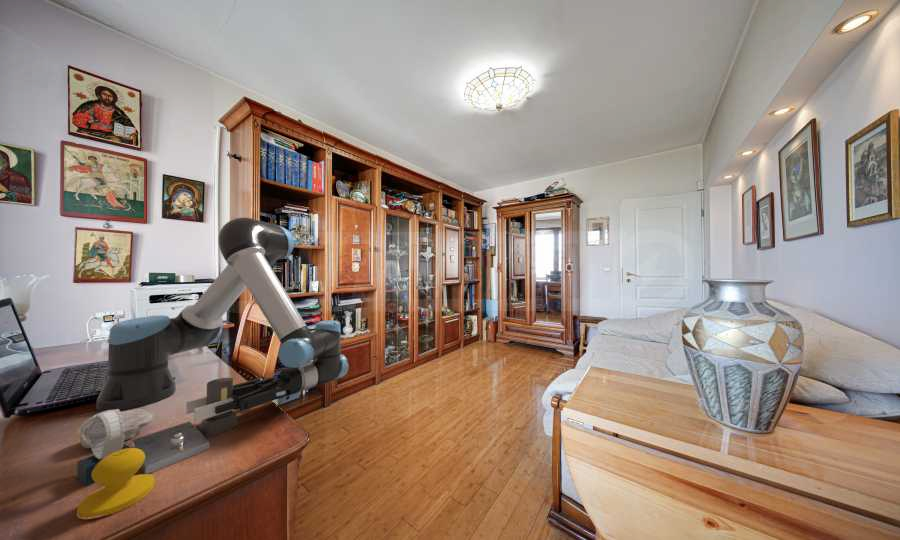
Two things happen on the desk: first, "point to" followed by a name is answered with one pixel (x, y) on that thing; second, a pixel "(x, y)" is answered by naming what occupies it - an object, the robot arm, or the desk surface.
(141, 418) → the fossil
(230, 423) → the cylinder
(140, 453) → the yellow stacked oval discs
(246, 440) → the desk surface
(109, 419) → the watch
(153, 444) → the hub plate
